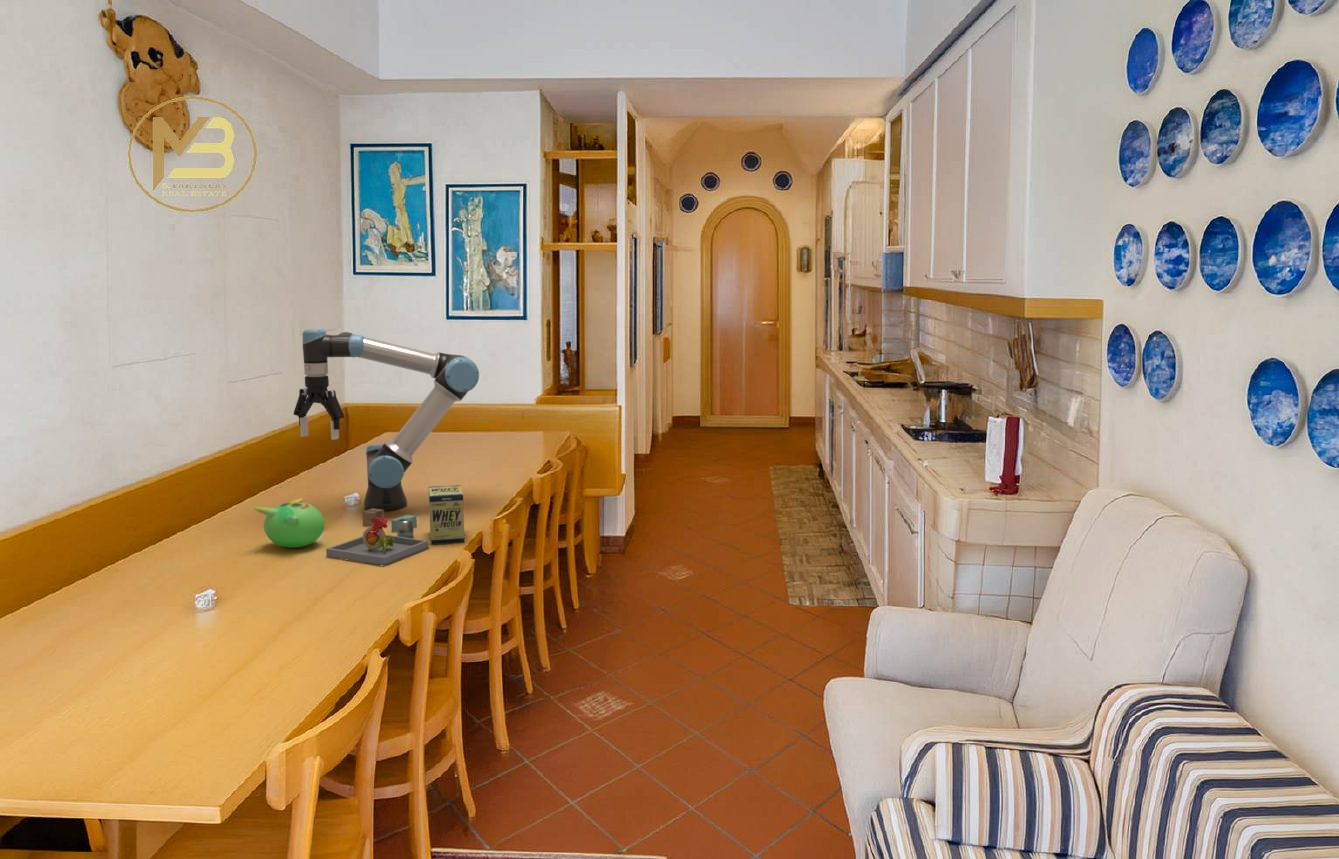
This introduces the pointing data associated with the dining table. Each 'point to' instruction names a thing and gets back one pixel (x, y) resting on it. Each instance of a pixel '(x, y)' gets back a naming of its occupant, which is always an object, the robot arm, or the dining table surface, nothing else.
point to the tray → (378, 550)
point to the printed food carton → (373, 537)
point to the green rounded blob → (292, 523)
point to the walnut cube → (369, 514)
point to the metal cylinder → (405, 528)
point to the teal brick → (394, 521)
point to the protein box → (446, 514)
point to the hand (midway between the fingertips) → (319, 437)
